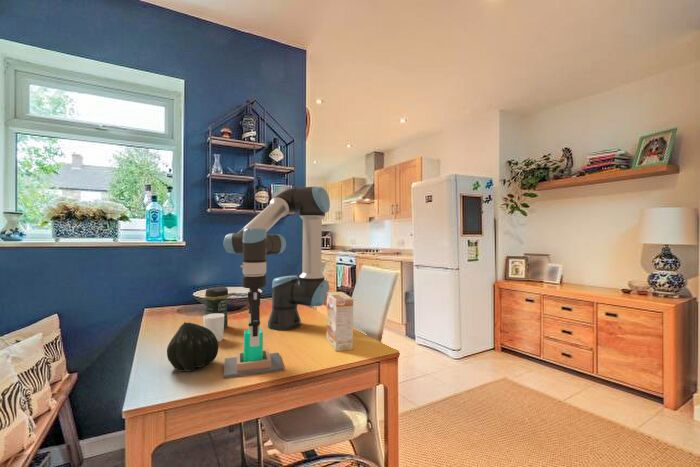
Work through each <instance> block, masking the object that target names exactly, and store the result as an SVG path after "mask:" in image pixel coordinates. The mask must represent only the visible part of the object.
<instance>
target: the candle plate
mask: <svg viewBox="0 0 700 467" xmlns="http://www.w3.org/2000/svg"><path fill="white" fill-rule="evenodd" d="M223 363H224V364H223V376H222V378H223V379H227V378H233V377H243V376H251V375H257V374H258V375H259V374H267V373H276V372H284V370H285V369H284V368H285V367H284V364H283V362H282V358H281V355H280V353H279V352H273V353H270V350H269V349H267V348H266V349H263V360H260V361H251V362H244V351H239V352H236V356H233V357H225V358H224V362H223Z"/></svg>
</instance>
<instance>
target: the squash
mask: <svg viewBox="0 0 700 467" xmlns="http://www.w3.org/2000/svg"><path fill="white" fill-rule="evenodd" d="M218 352H219V342H218V341H217V339H216V337H215V335H214V333H213V332H212V331H210V330H209V329H207V328H205V327H204V325H203V326H202V325H199V324H196V323H193V322H186V321H185V322H183V323H182V324H181V325H180V326H179V328H178V329H177V331H176V333H175V334H174V335H173V337H172V338H171V340H170V341H169V342H168V345H167V347H166V356H167V360H168V362H169V363H170V364H171V365H172V367H173V368H174V369H176V371H181V372H183V371H186V372H192V371H194V370H195V369H196V368H202V367H204V365H205V366H206V365H208V364H209V365H210V363H212V362H213V361H214V360H215V359H216V357H217V355H218Z"/></svg>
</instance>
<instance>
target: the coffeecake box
mask: <svg viewBox="0 0 700 467" xmlns="http://www.w3.org/2000/svg"><path fill="white" fill-rule="evenodd" d="M325 339H326V341H327V342H328V343H329V345H330V346H331V347H332V348H333V349H334V351H335V352H344V351H352V349H353V348H354V344H353V343H354V298H352V296H350V295H348V294H347V293H345V292H343V291H329V292H327V299H326V338H325ZM343 350H344V351H343Z"/></svg>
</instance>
